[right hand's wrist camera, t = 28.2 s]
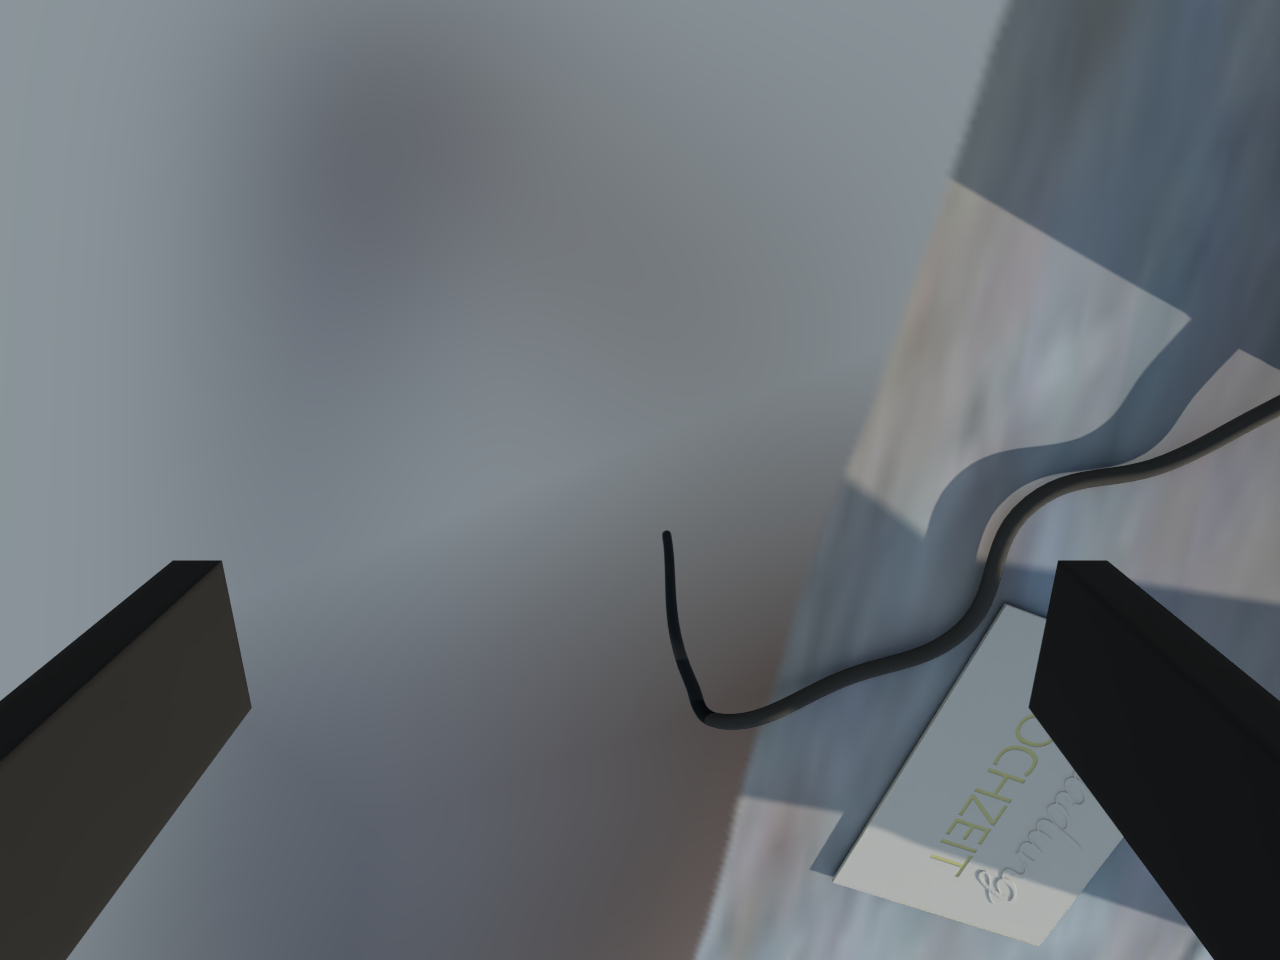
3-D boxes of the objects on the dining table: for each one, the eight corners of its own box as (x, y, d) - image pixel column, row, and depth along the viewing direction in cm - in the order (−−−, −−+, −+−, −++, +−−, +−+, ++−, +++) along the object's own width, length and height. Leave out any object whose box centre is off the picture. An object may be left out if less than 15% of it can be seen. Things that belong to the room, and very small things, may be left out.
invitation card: (1006, 605, 44) (1237, 690, 45) (1004, 603, 44) (1234, 688, 46) (833, 883, 50) (1039, 947, 52) (832, 879, 51) (1037, 943, 53)
